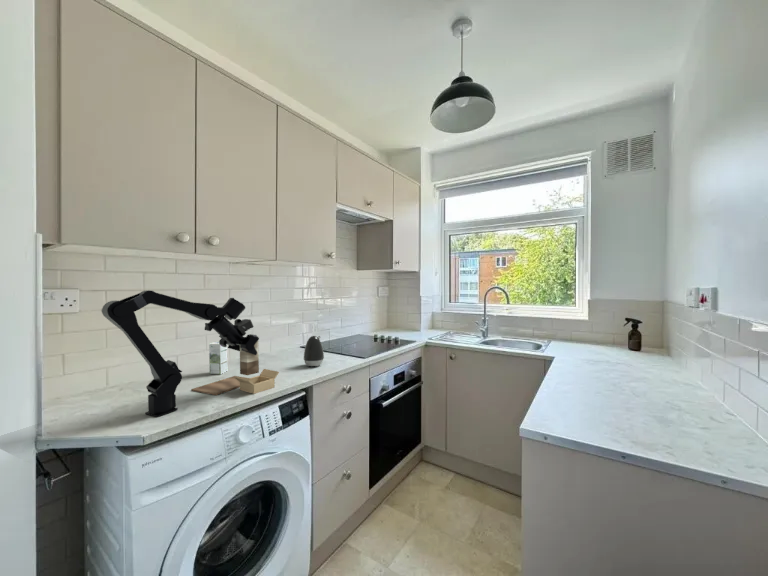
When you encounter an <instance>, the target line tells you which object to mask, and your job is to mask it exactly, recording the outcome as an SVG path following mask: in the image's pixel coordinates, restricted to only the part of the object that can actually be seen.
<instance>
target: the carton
mask: <svg viewBox="0 0 768 576" xmlns="http://www.w3.org/2000/svg"><path fill="white" fill-rule="evenodd" d="M279 373H280V371H277V370H272V369H269V368H268V369H266V368H263V369H262V371H261V373H259V375H256V376H253V377H247V378H248V379H244V378H240V377H241V376H239V377H236V376H237V375H234V376H235V377H234V378H235V379H237V380H238V381H239V382H240V387H239V390H240V391H241V392H242V391H243V392H246V393H250V394H253V395H255V394H258V393H259V394H260V393H261V392H265V391H268V390H272V389H274V388H275V386H276V385H275V383H276V382H275V380H276V378H277V376H279Z"/></svg>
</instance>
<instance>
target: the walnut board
mask: <svg viewBox="0 0 768 576" xmlns="http://www.w3.org/2000/svg"><path fill="white" fill-rule="evenodd" d="M235 376H236V377H240V378H244V379H248V378H249V377H244V376H240V375H239V376H238V375H232V376H230V377H227V378H223V379H221V380H217V381H214V382H210V383H207V384H204V385H201V386H197V387H194V388H191V390H190V391H191V392H197V393H201V394H207V395H211V394H212V396H219V395H221V393H222V394H224V392H225V393H227V392H230V391H233V390H236V389H240V382H239V381H238V380H237V379H235V378H234V377H235ZM218 394H219V395H218Z"/></svg>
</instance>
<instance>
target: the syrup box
mask: <svg viewBox="0 0 768 576" xmlns="http://www.w3.org/2000/svg"><path fill="white" fill-rule="evenodd" d="M226 345H227V344H226ZM208 348H209V350H208V351H209V354H208V355H209V356H208V357H209V375H223V374H225V373H224V372H226V371H228V369H229V368H228V345H227V347H222V346H221V345H220V344H219V341H213V342H210V343H209V344H208ZM222 373H223V374H222ZM226 373H227V372H226Z"/></svg>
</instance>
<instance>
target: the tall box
mask: <svg viewBox="0 0 768 576" xmlns="http://www.w3.org/2000/svg"><path fill="white" fill-rule="evenodd" d="M254 347H255V349H256V351H257V354H256V355H253V354H250V353H247V352H244V351H241V348H240V351H239V374H240V375H244V376H251V375H254V374H260V361H259V360H260V359H259V356H260V355H259V351H260V350H259V340H258V341H257V343H256V344H255V345H254Z"/></svg>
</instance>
